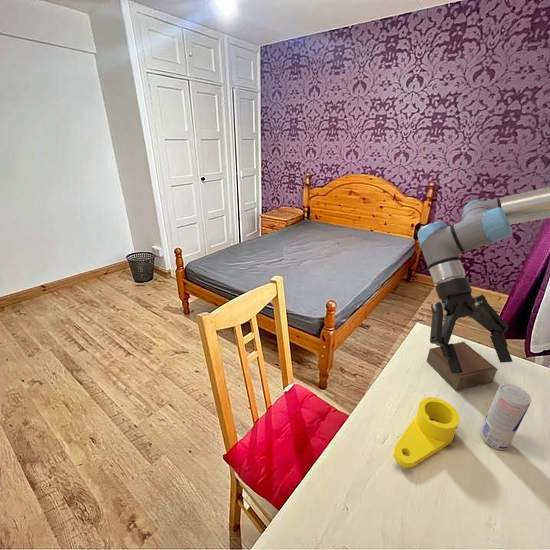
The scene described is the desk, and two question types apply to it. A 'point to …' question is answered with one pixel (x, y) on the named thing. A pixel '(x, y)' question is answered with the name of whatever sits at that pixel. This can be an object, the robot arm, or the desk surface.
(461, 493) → the desk surface
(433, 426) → the crank
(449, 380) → the block
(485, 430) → the beverage can
